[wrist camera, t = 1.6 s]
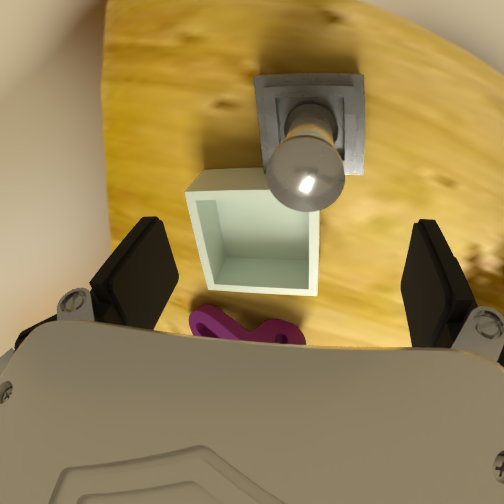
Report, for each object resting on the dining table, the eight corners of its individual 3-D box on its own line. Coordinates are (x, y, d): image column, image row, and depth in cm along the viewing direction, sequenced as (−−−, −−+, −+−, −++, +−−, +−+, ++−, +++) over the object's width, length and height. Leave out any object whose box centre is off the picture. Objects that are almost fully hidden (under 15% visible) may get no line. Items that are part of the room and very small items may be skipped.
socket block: (359, 73, 25) (366, 76, 22) (360, 164, 31) (364, 181, 28) (259, 74, 28) (250, 77, 24) (268, 163, 33) (261, 179, 30)
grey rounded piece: (336, 101, 25) (349, 136, 15) (337, 149, 28) (346, 216, 18) (284, 101, 26) (258, 136, 16) (287, 149, 29) (266, 214, 19)
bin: (319, 167, 32) (319, 190, 28) (319, 263, 40) (317, 296, 35) (204, 169, 35) (184, 191, 31) (221, 260, 43) (208, 289, 38)
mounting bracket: (218, 309, 58) (294, 368, 52) (187, 334, 53) (267, 400, 46) (227, 275, 53) (314, 339, 46) (191, 299, 47) (286, 374, 40)
